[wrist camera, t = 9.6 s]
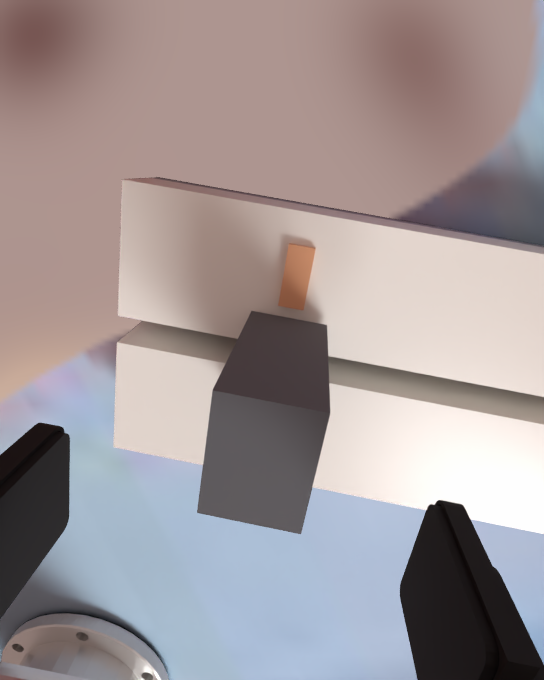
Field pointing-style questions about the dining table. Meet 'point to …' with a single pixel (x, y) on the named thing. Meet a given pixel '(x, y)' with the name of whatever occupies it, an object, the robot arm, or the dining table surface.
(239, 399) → the fader tab
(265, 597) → the dining table surface
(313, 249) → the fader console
